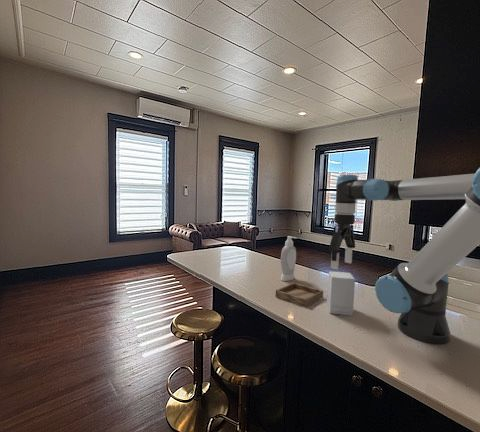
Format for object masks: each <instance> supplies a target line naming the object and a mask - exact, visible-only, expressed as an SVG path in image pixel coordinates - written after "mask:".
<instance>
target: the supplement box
mask: <svg viewBox="0 0 480 432" xmlns="http://www.w3.org/2000/svg"><path fill="white" fill-rule="evenodd" d="M327 279H328V282H327V283H328V284H327V285H328V286H327V298H326V300H327V301H326V305H327V308H328V312H329V314H335V315H343V316H351V317H352V316H353V315H354V300H355V299H354V298H355V286H356V278H355V277H354V276H353V275H352V274H351V273H350V272H343V271H342V272H341V271H329V272H328V278H327Z"/></svg>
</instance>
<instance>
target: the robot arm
mask: <svg viewBox="0 0 480 432" xmlns="http://www.w3.org/2000/svg"><path fill="white" fill-rule="evenodd" d="M336 179H337V180H336V186H335V188H336V190H335V191H336V192H335V205H334V208H335V209H334V210H335V211H334V212H335V214H334V223H335V224H337V226H333V231H332V232H333V233H332V236H331V241H330V245H329V248H328V251H329V252H330V253H331V258H330V269H334V270H337V271H338V270H339V262H340V252H339V251H340V247H341V246H342V243H343V240H344V241H345V246H346V247H345V248H344V249H345V251H344V252H345V253H344V263H345V264H346V263H347V264H352V263H353V251H354V250H353V249H356V241H355V234H354V233H355V232H354V224H355V220H356V218H355V217H356V216H355V214H356V209H357V208H356V206H357V204H356V203H357V200H363V201H391V202H392V201H395V202H397V201H420V200H421V201H422V200H423V201H425V200H431V201H433V200H465V203H464V204H463V205H462V206H461V207H460V208H459V209H458V210H457V211H456V212H455V214H454V215H453V216H452V217H451V218H450V219H449V220H447V222H446V223H445V224H444V225H443V226H442V227H441V228H440V229H439V230H438V231H437V233H435V234H434V235H433V237H432V238H431V239H429V241H427V243H426V244H425V245H424V246H423V247H422V248H421V249H420V250H419V251H418V252H417V253H416V254H415V255H414V257H412V258H411V259H410V261H409V262H401V263H399V264H398V265H397V266H396V267H395V268H394V269H393V271H392V272H391V273H389V274H385V275H382V276H381V277H379V278H378V279H377V280H376V281H375V285H374V290H375V295H376V298H377V300H378V302H379V303H380V305H381V306H382V307H383V308H384V309H386V310H387V311H389V312H390V313H394V314H399V316H398V320H397V328H398V329H399V331H400V332H402V333H403V334H405V335H406V336H409V337H411V338H413V339H414V340H418V341H422V342H425V343H427V344H429V343H430V344H439V345H441V344H447V343H449V342H450V341H451V330H450V327H449V323H448V320H447V317H446V312H447V311H446V310H447V300H448V292H449V285H450V282H449V279H450V278H449V274H448V273H449V272H450V271H452V269H454V268H455V267H456V265H458V264H459V263H460V262H461V261H462V260H464V258H466V257H467V256H468V255H469V254H470V253H472V252H473V251H474V250H475V249H476V247H478V246H479V245H480V167H478V169H477V170H476V171H475V173H467V174H465V173H464V174H454V175H447V176H446V175H445V176H444V175H443V176H432V177H431V176H430V177H421V178H409V179H399V180H397V179H396V180H385V179H383V178H369V179H358V176H357V175H356V174H340V175H338V176H337V178H336Z"/></svg>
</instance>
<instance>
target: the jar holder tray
mask: <svg viewBox="0 0 480 432" xmlns="http://www.w3.org/2000/svg"><path fill="white" fill-rule="evenodd" d="M275 297H276V298H278V299H282V300H283V301H287V302H291V303H292V304H296V305H299V306H301V307H304V308H306V307H308V306H310V305H312V304H314V303H315V302H318V301H319V300H321V299H322V298H323V297H324V290H321V289H317V288H314V287H311V286H306V285H303V284H300V283H297V282H293V283H290V284H288V285H284V286H283V287H281V288H277V289H276V290H275Z"/></svg>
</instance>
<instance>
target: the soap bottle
mask: <svg viewBox="0 0 480 432" xmlns="http://www.w3.org/2000/svg"><path fill="white" fill-rule="evenodd" d="M292 239H298V238H297V237H295V236H291V235H288V236H287V239H286V241H284V242H285V243H284V246H283V247H282V249H281V253H280V254H281V255H280V267H281V272H282V273H281V277H280V281H281V282H290V281H293V280H295V273H294V272H295V267H296V261H297V249H296V247H295V246H294V241H293V240H292Z"/></svg>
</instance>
